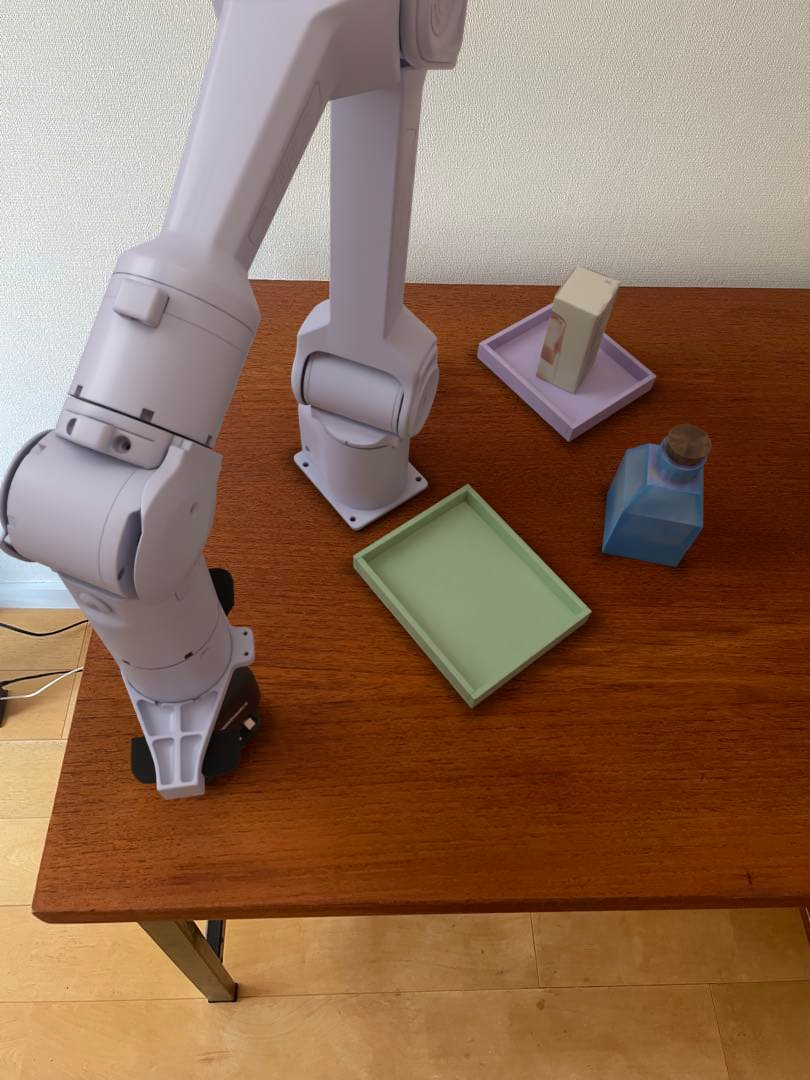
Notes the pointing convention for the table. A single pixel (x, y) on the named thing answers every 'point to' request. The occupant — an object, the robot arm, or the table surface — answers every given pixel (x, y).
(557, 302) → the cream cardboard box
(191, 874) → the table surface
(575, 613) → the sage tray
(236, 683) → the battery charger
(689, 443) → the perfume bottle
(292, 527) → the table surface
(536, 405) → the lavender tray
